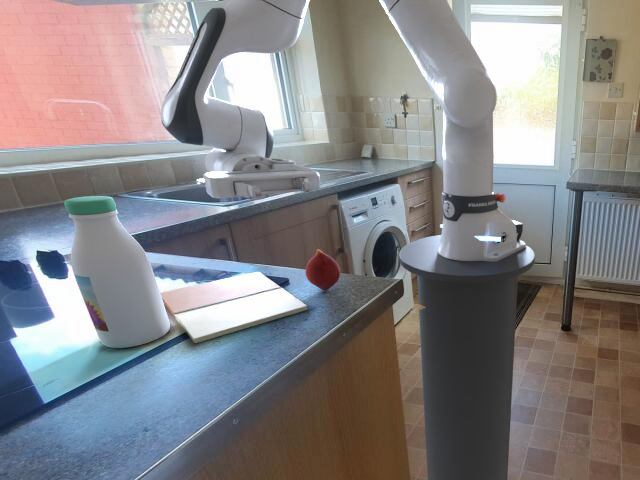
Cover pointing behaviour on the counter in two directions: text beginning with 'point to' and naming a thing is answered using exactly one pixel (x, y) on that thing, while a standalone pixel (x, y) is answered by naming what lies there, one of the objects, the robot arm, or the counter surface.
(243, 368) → the counter surface
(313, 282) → the onion
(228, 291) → the sorting board
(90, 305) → the milk bottle
